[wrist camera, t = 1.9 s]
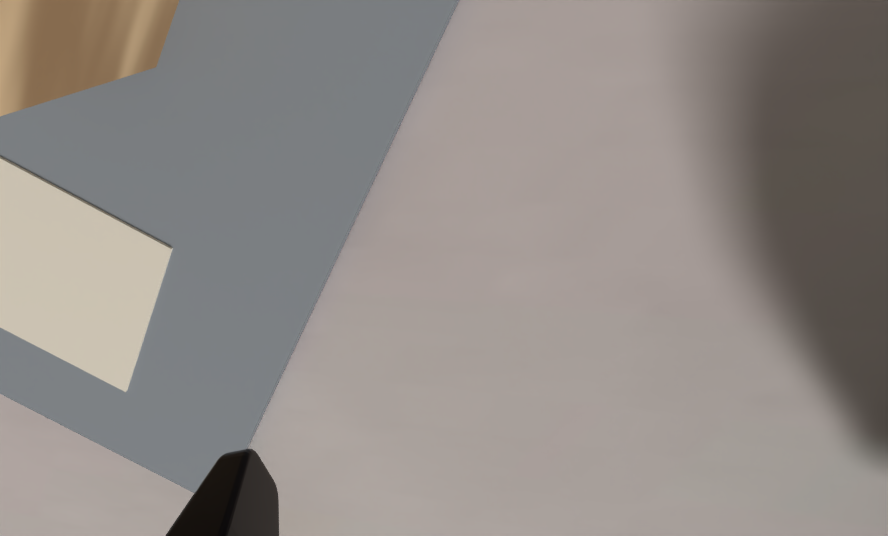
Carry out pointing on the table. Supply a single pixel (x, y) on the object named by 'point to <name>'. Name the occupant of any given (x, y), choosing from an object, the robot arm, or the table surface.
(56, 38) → the wooden block
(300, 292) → the rubber mat
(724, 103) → the table surface
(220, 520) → the robot arm
